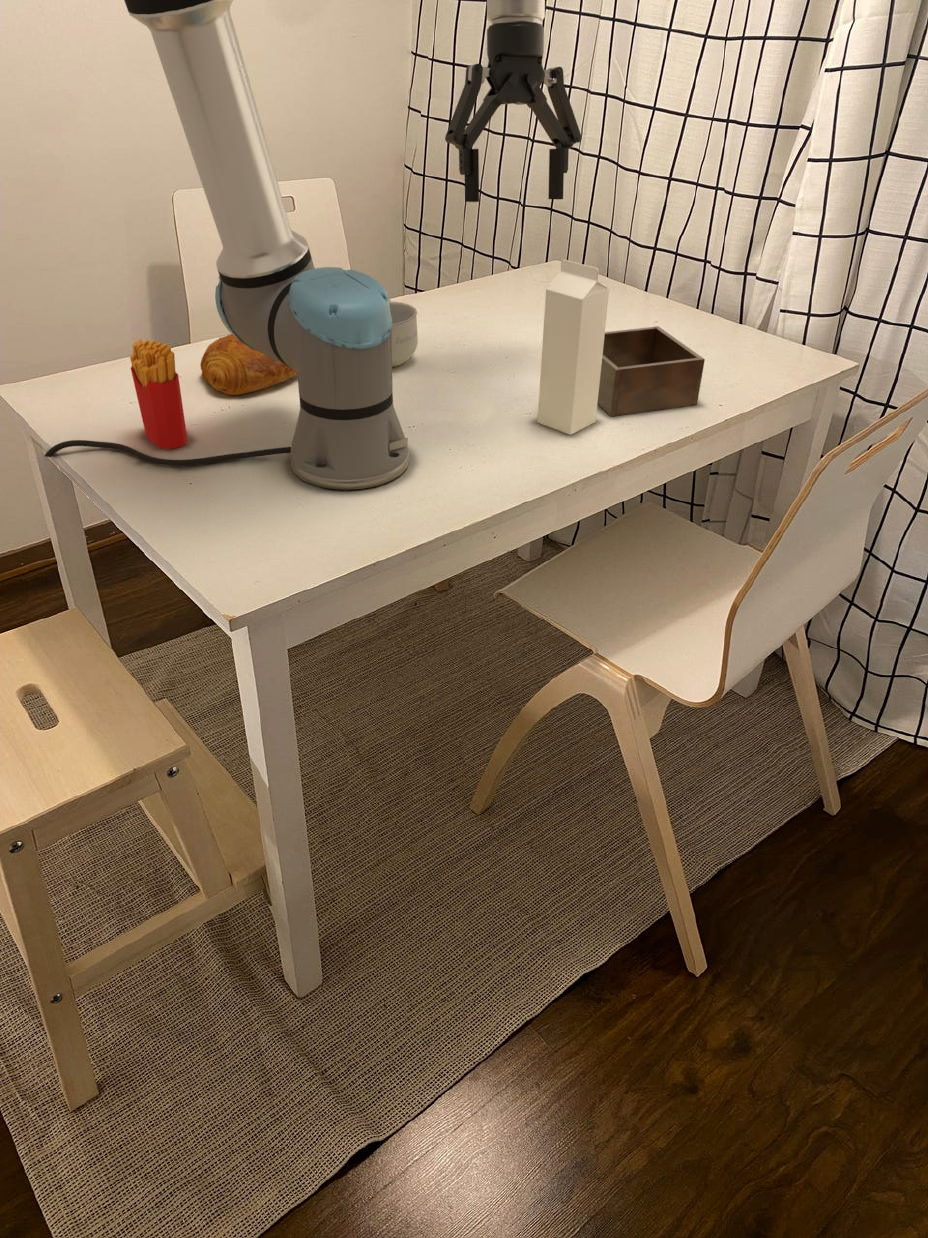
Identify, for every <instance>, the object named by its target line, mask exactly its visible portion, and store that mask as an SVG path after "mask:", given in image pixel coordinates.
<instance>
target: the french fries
mask: <svg viewBox="0 0 928 1238" xmlns="http://www.w3.org/2000/svg"><path fill="white" fill-rule="evenodd" d="M131 347H132V349H133V350H132V354H131V355H130V357H129V359H130V363H131V366H130V371H131V372H130V373H131V376H132V380H133V385H134V389H135V395H136V398H137V402H138V403H137V404H138V406H139V411H140V415H141V420H142V424H143V429H144V433H145V437H146V438H147V439H148V440H149V441H150V442H151V443H152V444H153V445H154V446H156V447H158V448H159V449H164V450H174V449H177V448H180V447H184V446H185V445H187V442H188V434H187V427H186V421H185V415H184V414H185V413H184V405H183V400H182V393H181V387H180V385H181V384H180V377H179V374H178V372H176V358H175V357H176V356H175V352H173V351H172V347H171V346H170V345H168V344H167V343H166V342H164V343H163V344H162V342H161V341H158V342H156V340H155V339H152V340H150V341H149V339H148V338H147V339H145V340H143V341H142V339H141V338H138V339H137V340H136V341H134V343H133V344H132V345H131Z"/></svg>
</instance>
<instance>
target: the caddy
mask: <svg viewBox="0 0 928 1238" xmlns="http://www.w3.org/2000/svg"><path fill="white" fill-rule="evenodd" d="M704 367H705V358H704V357H703V356H702V355H700V354H698V353H697V352H695V351H694V350H692V349H691V348H690V347H688V346H687V345H686V344H684V343H682V342H681V341H680V340H679V339H677V338H676V337H674V336H673V335H671V334H670V333H669V332H667V331H666V330H664V329H663V328H661V326H659V325H656V326H648V327H640V328H639V327H638V328H631V329H630V328H629V329H620V330H613V331H611V330H610V331H605V336H604V346H603V355H602V365H601V374H600V384H599V393H598V403H597V406H599V407H600V408H601V409H602V410H603V411H604V412H605V413H606V414H608V416H609V417H618V416H624V415H632V414H637V413H638V414H639V413H646V412H647V413H648V412H653V411H661V410H668V409H676V408H677V409H678V408H683V407H691V406H697V405H698V401H699V395H700V391H701V383H702V379H703V372H704Z"/></svg>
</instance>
